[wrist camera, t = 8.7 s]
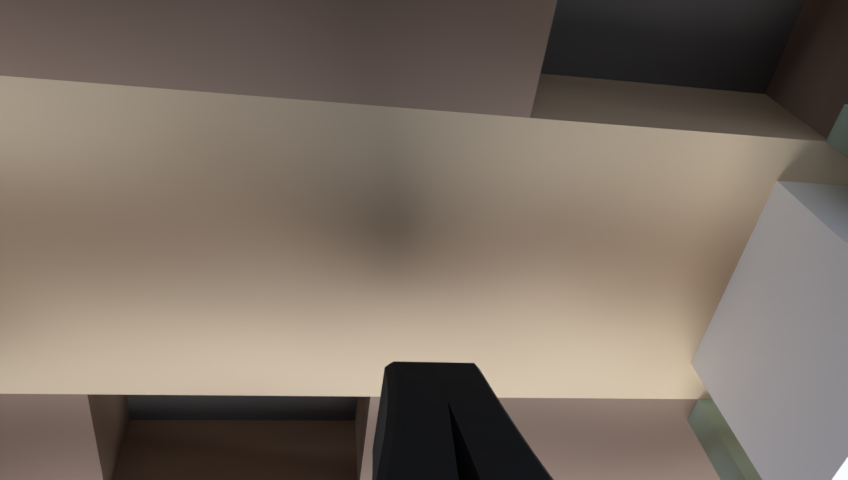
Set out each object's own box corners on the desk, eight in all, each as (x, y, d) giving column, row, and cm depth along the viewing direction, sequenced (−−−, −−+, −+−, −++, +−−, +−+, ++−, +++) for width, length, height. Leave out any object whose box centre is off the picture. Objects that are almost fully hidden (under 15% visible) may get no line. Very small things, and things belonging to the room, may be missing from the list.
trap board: (790, 429, 20) (906, 595, 16) (-109, 430, 16) (-255, 649, 12) (1105, -78, 13) (1471, -8, 9) (-424, -312, 9) (-1079, -386, 5)
